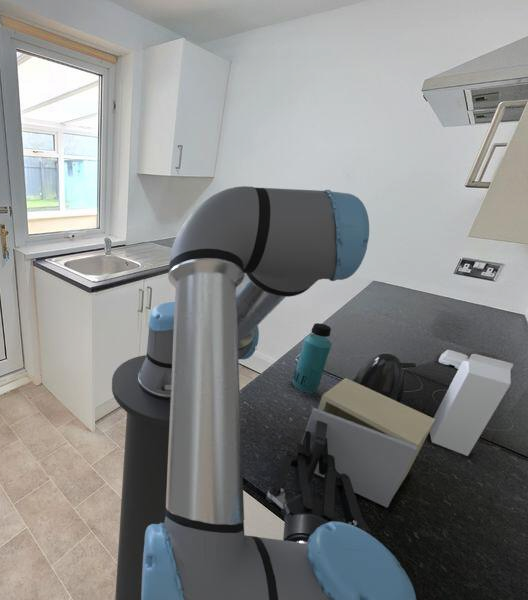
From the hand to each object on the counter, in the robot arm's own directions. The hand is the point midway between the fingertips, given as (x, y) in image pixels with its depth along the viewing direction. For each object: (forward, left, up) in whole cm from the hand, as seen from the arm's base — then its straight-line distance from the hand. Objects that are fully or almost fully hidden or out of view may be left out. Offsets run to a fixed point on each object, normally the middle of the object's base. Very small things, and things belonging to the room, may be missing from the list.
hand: (314, 440), depth 59 cm
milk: (+15, +37, -8) cm, 40 cm away
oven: (+5, +12, -8) cm, 15 cm away
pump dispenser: (0, +37, -8) cm, 37 cm away
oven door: (+6, 0, -8) cm, 10 cm away
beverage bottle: (-13, +27, -8) cm, 31 cm away
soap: (+5, +87, -8) cm, 88 cm away
